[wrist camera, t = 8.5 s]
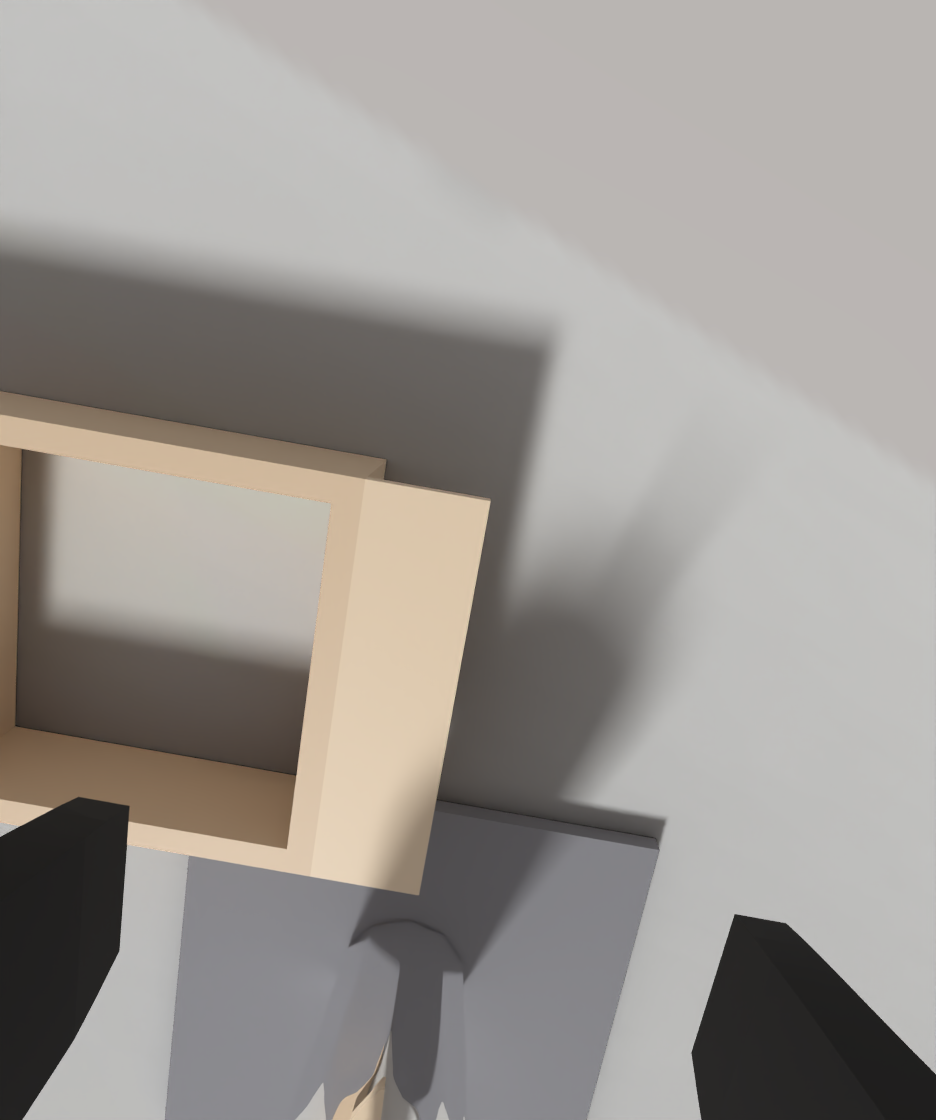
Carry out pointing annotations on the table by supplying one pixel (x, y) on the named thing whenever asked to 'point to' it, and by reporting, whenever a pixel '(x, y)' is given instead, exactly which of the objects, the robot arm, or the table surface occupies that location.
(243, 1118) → the mat
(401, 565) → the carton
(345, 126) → the table surface
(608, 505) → the table surface
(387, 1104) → the milkshake
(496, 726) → the table surface
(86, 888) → the robot arm
